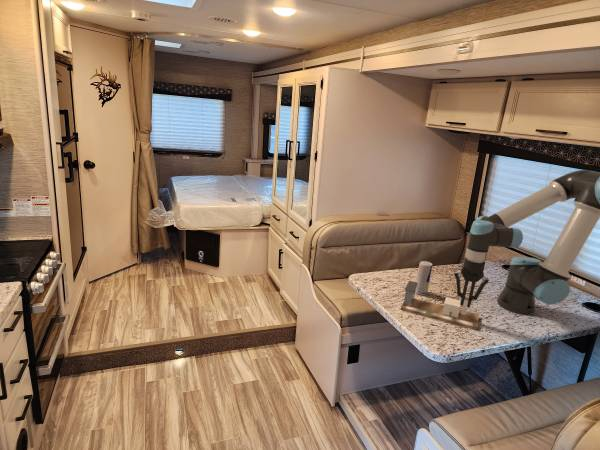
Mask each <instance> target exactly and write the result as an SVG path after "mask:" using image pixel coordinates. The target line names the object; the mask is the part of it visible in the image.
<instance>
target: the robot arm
mask: <svg viewBox="0 0 600 450" xmlns="http://www.w3.org/2000/svg"><path fill="white" fill-rule="evenodd" d="M572 199H574V200H573V204H574V209H573V211H572V213H571V214H570V216H569V218H568V220H567V222H566V223H565V225H564V227H563V228H562V231H561V232H560V234H559V236H558V237H557V239H556V241H555V243H554V245H553V247H551V250H550V252H549V253H548V255H547V257H546V259H545V260H544V261H542V260H540V259H538V258H536V257H535V258H534V257H529V256H520V255H519V256H514V257H512V258H511V261H510V263H509V269H508V273H507V277H506V281H505V282H506V283H505V286H504V287H503V289H502V290H501V292H500V293H499V295H498V296H497V300H496V302H497V304H498V305H499V306H500V307H502V308H503V309H504V310H506V311H507V310H508V311H509V312H512V313H517V314H521V315H531V313H532V314H534V313H535V312H536V311H535V310H536V306H537V305H536V300H538V301H540V302H541V303H543V304H545V305H556V304H559V303H561V302H563V301H564V300H566V298H567V297H568V296H569V295H570V291H571V288H570V284H569V283H568V281H569V280H570V278H571V275H570V270H571V267H573V266H572V265H573V264H574V263H575V260H576V259H577V257H578V256H579V254H580V253H581V251H582V248H583V247H584V245H585V244H586V242H587V240H588V239H589V237H590V235H591V234H592V232H593V230H594V228H595V227H596V225H597V223H598V222H599V220H600V172H599V171H594V170H591V169H590V170H589V169H579V170H575V171H571V172H569V173H568V172H567V173H565V174H564V175H562V176H558V177H557V178H555V179H553V180H552V181H550V182H549V183H548V185H547V186H546V187H543V188H541V189H539V190H537V191H536V192H533V193H532V194H530V195H527V196H526V197H524V198H522V199H520V200H518V201H516V202H515V203H512V204H510V205H509V206H506V207H505V208H503V209H501V210H499V211H497V212H495V213H493V214H491V215H489V216H486V215H480V216H478V217H477V218H476V219H475V220H473V222H472V224H471V226H470V230H469V237H468V242H467V247H466V250H465V257H464V260H463V265H462V268H461V269H460V270H458V271H454V274H453V275H454V277H455V280H456V294H457V295H456V296H457V297H460V301H461V302H460V307H461V306H462V308H461V310H462V313H461V314H463V315H465V313H466V311H467V309H468V308H471V304H472V301H477V300H478V299H479V296H480V295H481V293H482V291H483V289H484V288H485V286H486V285H487V284H489V281H490V280H489V278H488V277H486V276H485V274H484V270H485V266H486V260H487V258H488V253H489V250H490V249H489V248H490V247H496V248H498V247H500V248H518V247H520V246H521V244H522V243H523V240H524V234H523V232H522V230H521V229H520V228H517V227H512V226H514V225H516V224H518V223H519V222H522V221H523V220H525V219H527V218H529V217H531V216H533V215H535V214H537V213H539V212H541V211H543V210H545V209H547V208H549V207H551V206H553V205H555V204H556V203H558V202H562V203H563V202H566V201H568V200H572ZM461 276H462V277H463V279H464V284H463V289H462V291H461V288H462V287H461ZM479 281H481V283H480V284H479V287H478V288H477V290H476V291H475V288H476V284H477V282H479ZM469 282H470V283H471V286H470V290H469V293H468V297H467V296H466V295H467V291H468V285H469ZM474 292H475V294H474ZM535 299H536V300H535ZM533 312H534V313H533Z"/></svg>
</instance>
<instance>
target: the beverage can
mask: <svg viewBox="0 0 600 450" xmlns="http://www.w3.org/2000/svg"><path fill="white" fill-rule="evenodd" d="M432 270H433V263H431V262H430V261H427V260H425V261H424V260H422V261H420V262H419V265H418V272H417V276H416V281H415V282H417V283H418V285H417V287H416V291H415V294H417V295H421V296H425V295H427V294H428V292H429V287H430V281H431V275H432Z"/></svg>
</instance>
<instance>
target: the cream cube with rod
mask: <svg viewBox="0 0 600 450" xmlns="http://www.w3.org/2000/svg"><path fill="white" fill-rule="evenodd" d="M460 302H461V299H456V298H451V297H447V296H446V297H445V299H444V304H443V306H444V308H443V313H442V314H444V315H448V316H449V317H455V318H458V315H459V310H461V309H460V308H461V305H460Z"/></svg>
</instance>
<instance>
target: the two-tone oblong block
mask: <svg viewBox="0 0 600 450" xmlns="http://www.w3.org/2000/svg"><path fill="white" fill-rule="evenodd" d="M417 285H418V283H417V282H416V281H412V280H408V282H407V284H406V286H405V288H404V291H405V293H404V299H403V302H404V304H403V303H402V304H403V305H404V306H409V307H411V305H412V303H413V300H414V298H415V296H416V292H415V291H416V287H417Z"/></svg>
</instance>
